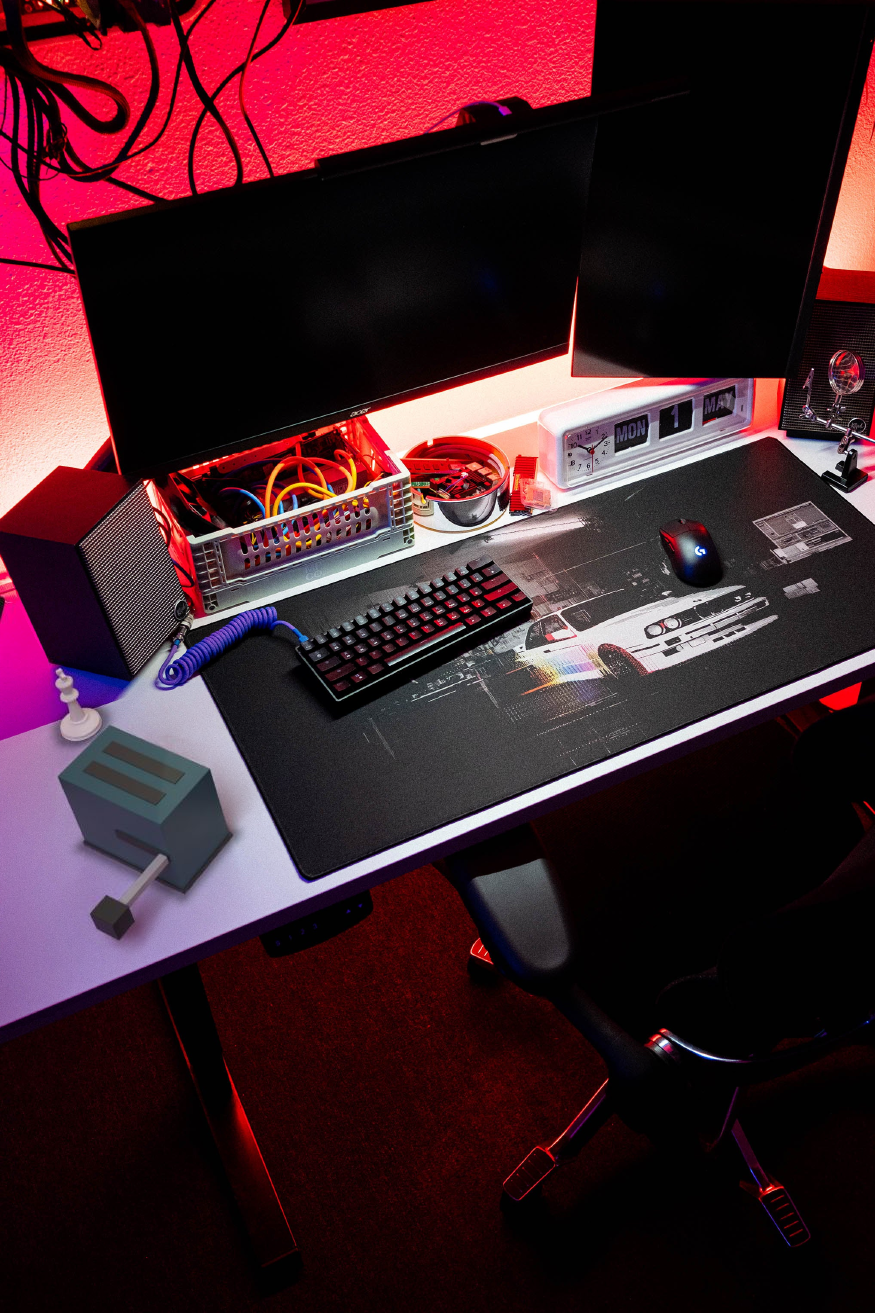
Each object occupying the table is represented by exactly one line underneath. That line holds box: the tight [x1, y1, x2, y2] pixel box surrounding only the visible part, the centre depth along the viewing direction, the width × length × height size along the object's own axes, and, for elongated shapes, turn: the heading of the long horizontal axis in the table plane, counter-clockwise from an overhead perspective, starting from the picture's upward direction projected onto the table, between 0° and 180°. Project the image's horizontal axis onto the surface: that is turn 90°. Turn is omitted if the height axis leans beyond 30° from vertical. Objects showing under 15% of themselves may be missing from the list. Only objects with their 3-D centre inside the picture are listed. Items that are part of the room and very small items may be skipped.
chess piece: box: [55, 668, 103, 742], centre depth 138 cm, size 5×5×10 cm
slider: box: [89, 854, 169, 941], centre depth 116 cm, size 9×3×3 cm, turn 153°
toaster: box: [57, 724, 234, 895], centre depth 124 cm, size 8×14×12 cm, turn 63°
